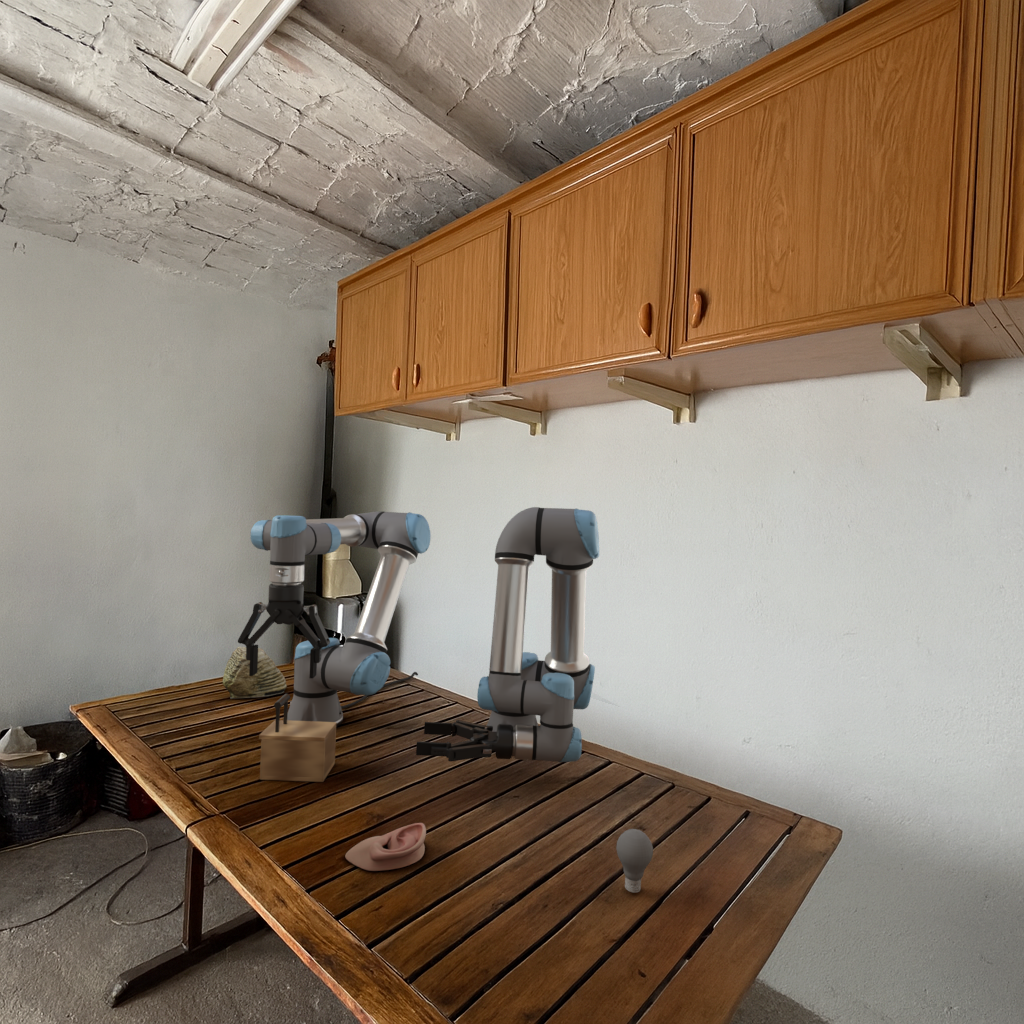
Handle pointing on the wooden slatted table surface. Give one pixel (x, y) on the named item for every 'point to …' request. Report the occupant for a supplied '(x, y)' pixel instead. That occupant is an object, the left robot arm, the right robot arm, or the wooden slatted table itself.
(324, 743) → the chest
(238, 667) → the fossil
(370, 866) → the anatomical model
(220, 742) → the wooden slatted table surface
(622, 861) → the light bulb
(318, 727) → the lid
